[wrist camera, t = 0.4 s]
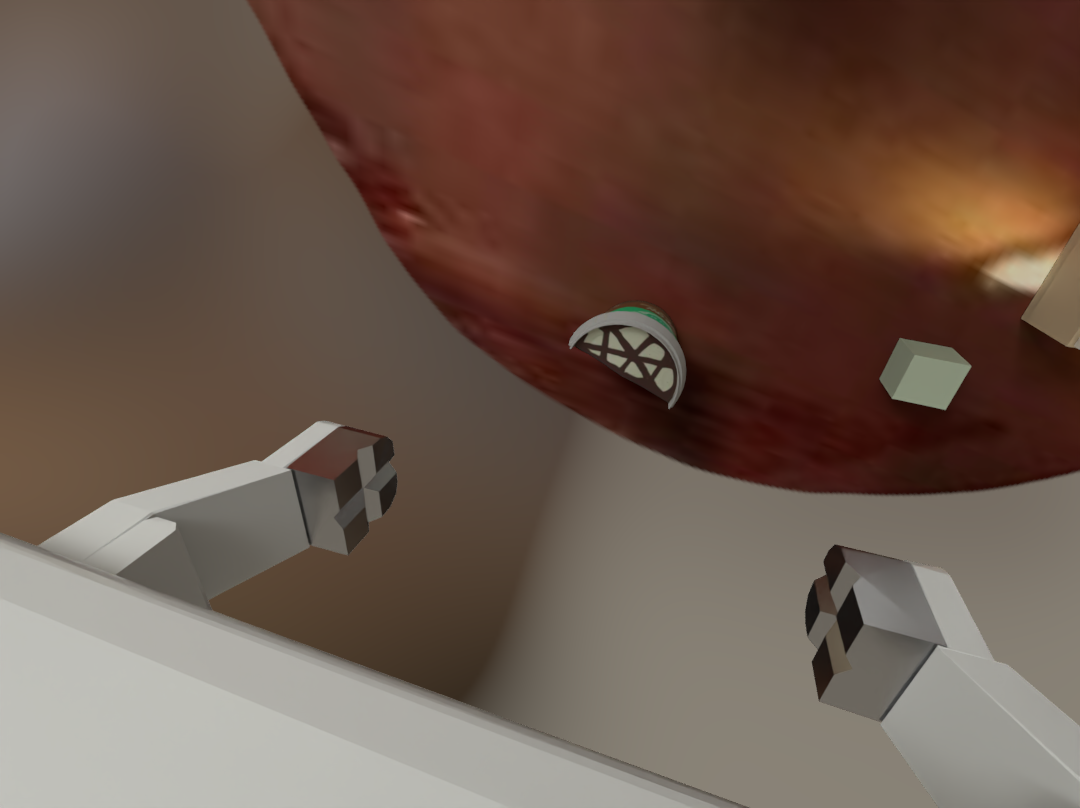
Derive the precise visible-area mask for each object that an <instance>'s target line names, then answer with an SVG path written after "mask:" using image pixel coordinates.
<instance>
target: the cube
mask: <svg viewBox="0 0 1080 808" xmlns="http://www.w3.org/2000/svg"><path fill="white" fill-rule="evenodd" d="M970 368H971V365H970V364H969V363H968V362H967V361H966V360H965V359H964V358H962V357H961V356H960V355H959V354H958V353H957V352H956V351H955V350H954V349H953V348H950V347H945V346H939V345H934V344H929V343H923V342H918V341H913V340H907V339H902V338H899V340H898V342H897V344H896V346H895V348H894V350H893V352H892V354H891V356H890V359H889V361H888V363H887V365H886V367H885V369H884V371H883V373H882V375H881V377H880V379H879V380H880V381H881V383H882V384H883V386H884V387H885V389H886V390H887V392H888V393H889V395H890V396H891V398H892V399H896V400H901V401H906V402H911V403H915V404H920V405H925V406H929V407H934V408H939V409H944V410H946V408H947V407H948V405H949V403H950V402H951V400H952V398H953V397H954V395H955V393H956V392H957V390H958V388H959V387H960V385H961V383H962V381H963V380H964V378H965V376H966V375H967V373H968V371H969V370H970Z"/></svg>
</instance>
